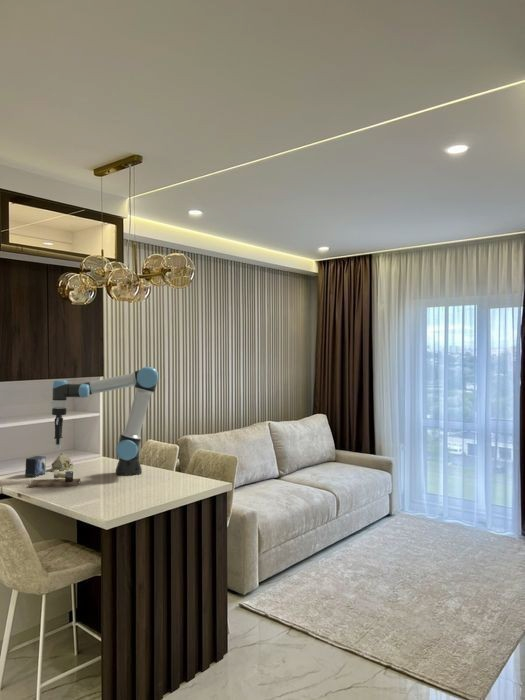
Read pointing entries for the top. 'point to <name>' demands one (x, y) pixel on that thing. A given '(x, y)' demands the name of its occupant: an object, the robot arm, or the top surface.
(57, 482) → the dial board
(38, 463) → the small box
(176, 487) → the top surface
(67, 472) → the lever
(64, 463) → the ceramic model
